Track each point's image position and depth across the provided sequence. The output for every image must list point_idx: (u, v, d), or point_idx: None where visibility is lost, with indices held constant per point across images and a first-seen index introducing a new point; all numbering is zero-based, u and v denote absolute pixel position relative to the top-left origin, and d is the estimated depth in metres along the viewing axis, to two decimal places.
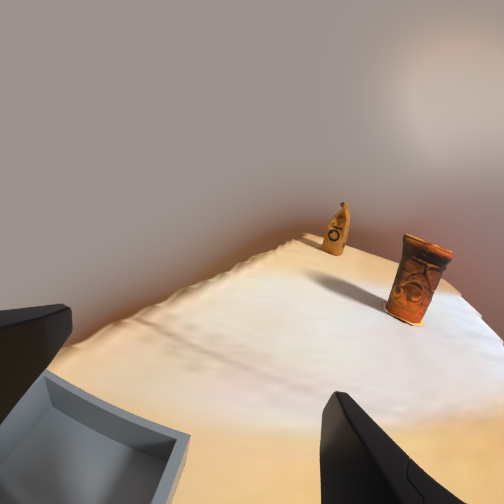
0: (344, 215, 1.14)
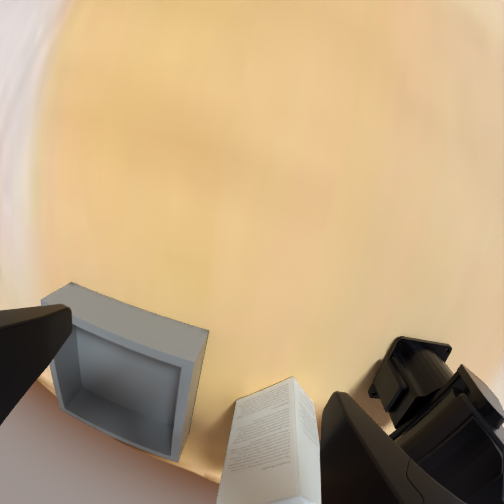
0: None
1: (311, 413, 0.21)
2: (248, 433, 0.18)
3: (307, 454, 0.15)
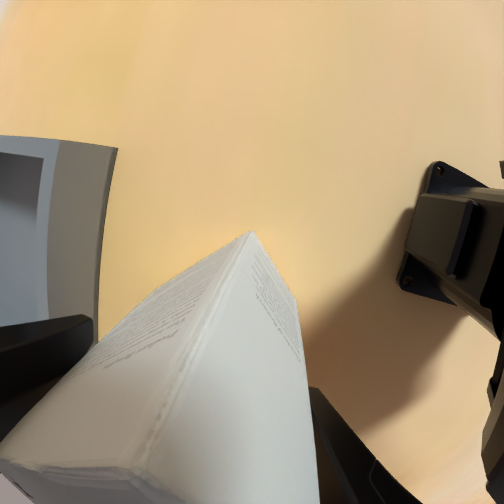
0: None
1: (288, 303, 0.11)
2: (138, 315, 0.09)
3: (258, 345, 0.06)
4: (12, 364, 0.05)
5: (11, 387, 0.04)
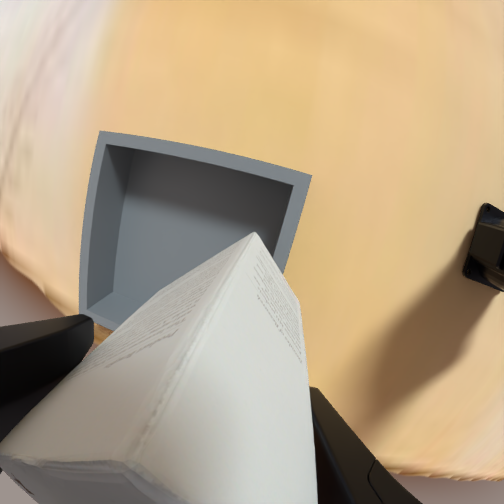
0: None
1: (291, 304, 0.11)
2: (141, 315, 0.09)
3: (258, 345, 0.06)
4: (12, 364, 0.05)
5: (11, 387, 0.04)
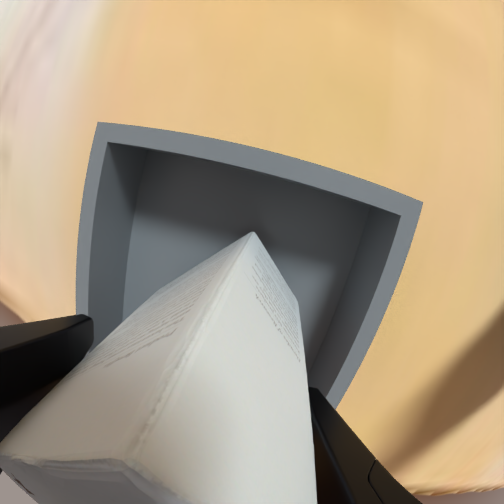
0: None
1: (290, 303, 0.11)
2: (140, 315, 0.09)
3: (256, 344, 0.06)
4: (12, 364, 0.05)
5: (11, 387, 0.04)
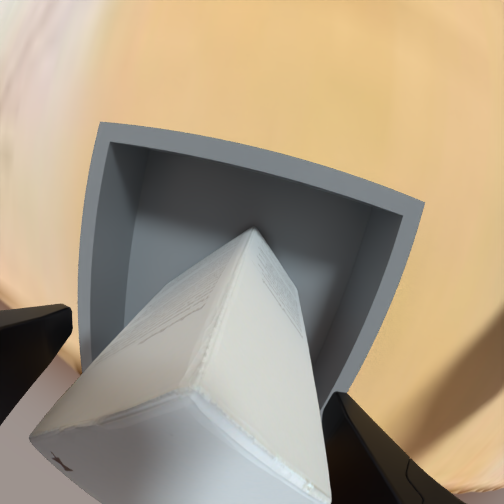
0: None
1: (290, 289, 0.13)
2: (157, 304, 0.10)
3: (267, 318, 0.07)
4: None
5: None
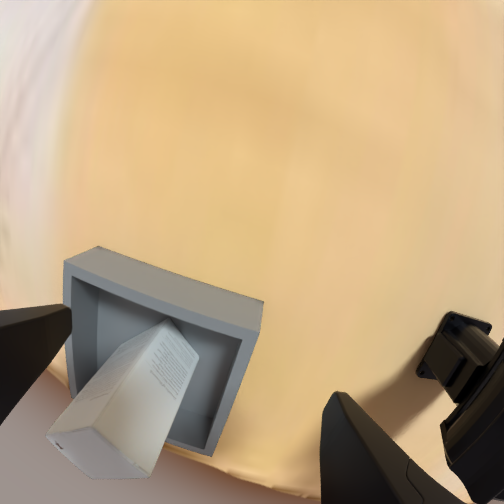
0: None
1: (185, 363, 0.19)
2: (106, 369, 0.17)
3: (142, 395, 0.14)
4: None
5: None
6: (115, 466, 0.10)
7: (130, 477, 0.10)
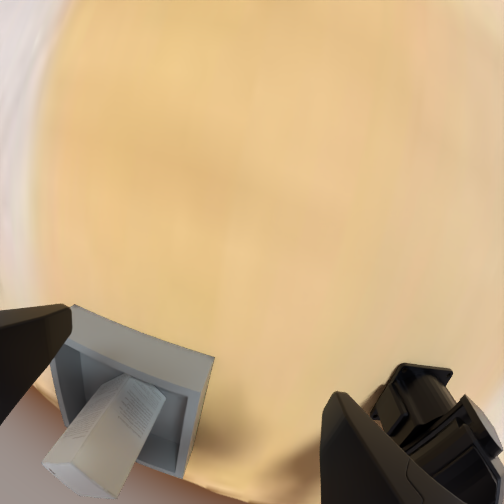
0: None
1: (151, 406, 0.20)
2: (87, 410, 0.18)
3: (110, 437, 0.15)
4: None
5: None
6: (92, 489, 0.11)
7: (104, 497, 0.12)
